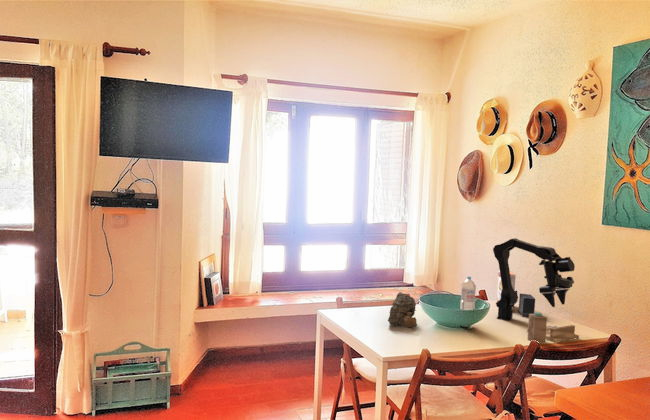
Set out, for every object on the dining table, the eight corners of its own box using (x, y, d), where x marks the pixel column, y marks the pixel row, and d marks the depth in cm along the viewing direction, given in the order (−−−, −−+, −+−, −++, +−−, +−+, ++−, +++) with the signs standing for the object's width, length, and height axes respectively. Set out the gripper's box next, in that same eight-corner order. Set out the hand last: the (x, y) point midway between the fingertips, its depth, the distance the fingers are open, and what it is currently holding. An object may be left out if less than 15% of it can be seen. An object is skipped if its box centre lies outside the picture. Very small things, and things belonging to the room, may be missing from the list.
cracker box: (496, 303, 273) (498, 269, 272) (506, 304, 273) (508, 269, 271) (502, 310, 259) (505, 273, 258) (513, 310, 259) (516, 274, 257)
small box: (534, 317, 246) (536, 298, 246) (522, 316, 248) (523, 297, 247) (530, 312, 257) (531, 294, 256) (517, 311, 258) (519, 293, 257)
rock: (390, 286, 233) (416, 286, 224) (402, 304, 240) (428, 304, 231) (379, 316, 222) (406, 317, 212) (391, 334, 229) (418, 335, 219)
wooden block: (527, 339, 211) (529, 311, 210) (539, 339, 211) (541, 311, 210) (533, 343, 205) (535, 314, 204) (545, 343, 205) (547, 314, 205)
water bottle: (473, 325, 229) (476, 276, 227) (473, 329, 222) (476, 278, 221) (459, 323, 231) (462, 274, 229) (458, 327, 224) (461, 277, 223)
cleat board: (527, 332, 221) (527, 321, 220) (549, 328, 228) (550, 317, 228) (555, 342, 207) (556, 331, 207) (578, 338, 214) (579, 327, 214)
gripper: (558, 273, 211) (565, 307, 208) (577, 269, 222) (584, 302, 219) (535, 275, 219) (542, 308, 217) (555, 272, 230) (561, 303, 228)
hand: (558, 305), depth 220 cm, fingers open, 9 cm apart
